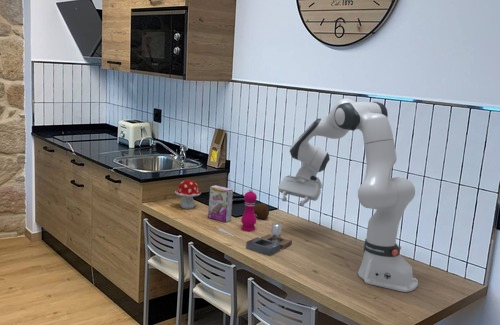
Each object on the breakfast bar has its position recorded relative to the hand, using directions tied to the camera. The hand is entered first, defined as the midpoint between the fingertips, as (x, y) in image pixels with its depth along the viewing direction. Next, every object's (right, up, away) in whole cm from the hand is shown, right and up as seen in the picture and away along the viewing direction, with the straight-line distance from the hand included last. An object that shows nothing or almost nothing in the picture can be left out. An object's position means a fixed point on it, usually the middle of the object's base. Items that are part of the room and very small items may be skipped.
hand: (292, 203), depth 234 cm
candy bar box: (-35, -10, +22) cm, 42 cm away
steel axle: (-8, -18, -7) cm, 21 cm away
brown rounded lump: (-14, -10, +30) cm, 34 cm away
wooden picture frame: (-8, -17, -7) cm, 21 cm away
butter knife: (-26, -16, -1) cm, 31 cm away
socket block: (-14, -19, -15) cm, 28 cm away
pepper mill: (-20, -14, +10) cm, 26 cm away
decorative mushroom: (-53, -6, +39) cm, 66 cm away
